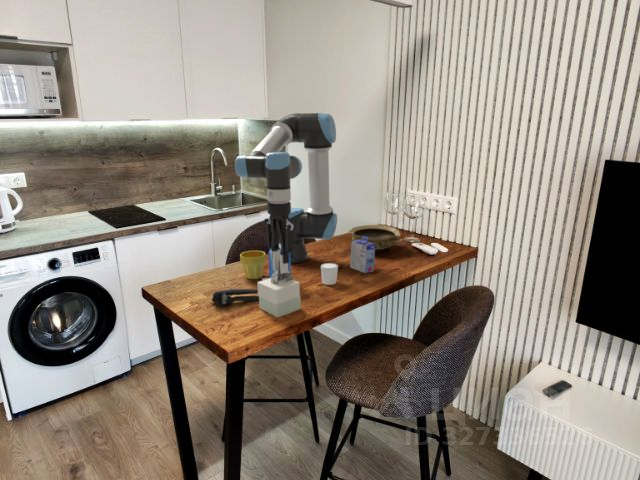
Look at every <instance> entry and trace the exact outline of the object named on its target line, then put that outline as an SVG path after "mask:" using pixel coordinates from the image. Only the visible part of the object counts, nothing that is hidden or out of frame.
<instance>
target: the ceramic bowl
mask: <svg viewBox="0 0 640 480" xmlns="http://www.w3.org/2000/svg"><path fill="white" fill-rule="evenodd" d="M347 232H348V234H349V235H351V238H352V241H355V240H361V239H362V237H363V236H366V237H369V238H368V241H367V242H370V243H373V244H375V253H377V252H378V253H379V252H382V251H383V249H387V248H390V247H392V246H394V245H395V244H399V243H402V242H403V239H402V238H397V236H399V235H400V231H399V230H398V229H397V228H394V227H392V226H388V225H380V224H366V225H365V224H364V225H358V226H355V227H352V228H351V229H348V230H347ZM363 240H367V239H366V238H363Z"/></svg>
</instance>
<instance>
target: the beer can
mask: <svg viewBox="0 0 640 480" xmlns="http://www.w3.org/2000/svg"><path fill="white" fill-rule="evenodd" d="M279 247H280V249H278V250H280V252H281V253H282V251H281V243H279ZM268 271H269V272H268V273H269V275H268V279H269V278H271V277H272V275H273V274H274V272H275V270H273V259H272V250H271V248H269V250H268ZM278 271H279V270H278ZM288 272H290V273H291V274H292V263H291V253H289V263H288Z"/></svg>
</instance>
